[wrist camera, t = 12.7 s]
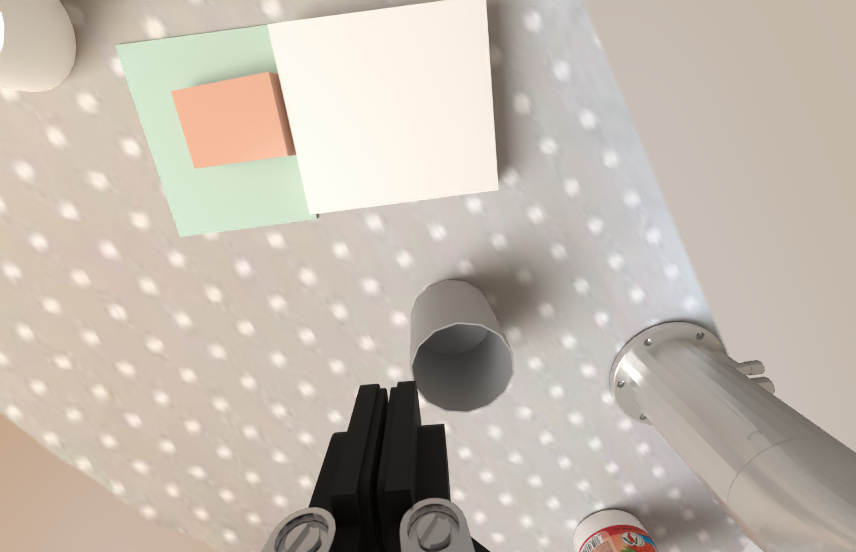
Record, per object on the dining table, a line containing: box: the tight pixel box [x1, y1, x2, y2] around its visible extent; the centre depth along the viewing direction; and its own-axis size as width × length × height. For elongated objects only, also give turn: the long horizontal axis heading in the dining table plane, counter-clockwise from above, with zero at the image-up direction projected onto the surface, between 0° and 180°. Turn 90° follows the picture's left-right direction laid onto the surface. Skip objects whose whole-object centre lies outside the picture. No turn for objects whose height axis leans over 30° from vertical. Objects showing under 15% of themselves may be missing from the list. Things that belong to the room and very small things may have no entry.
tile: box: [171, 72, 296, 168], centre depth 32 cm, size 9×6×2 cm, turn 97°
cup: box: [410, 280, 514, 413], centre depth 36 cm, size 8×8×10 cm
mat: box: [115, 25, 317, 237], centre depth 35 cm, size 13×16×1 cm
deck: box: [267, 0, 499, 215], centre depth 33 cm, size 16×14×4 cm
